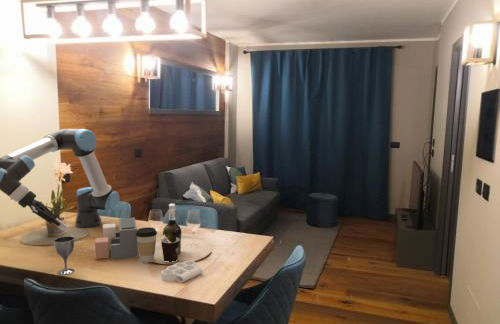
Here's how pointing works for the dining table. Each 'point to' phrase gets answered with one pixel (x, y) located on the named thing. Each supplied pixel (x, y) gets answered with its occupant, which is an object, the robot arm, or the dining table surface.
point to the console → (125, 240)
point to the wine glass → (64, 251)
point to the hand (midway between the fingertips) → (65, 229)
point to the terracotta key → (101, 248)
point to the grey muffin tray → (181, 271)
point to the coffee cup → (146, 243)
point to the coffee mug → (170, 250)
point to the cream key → (109, 232)
